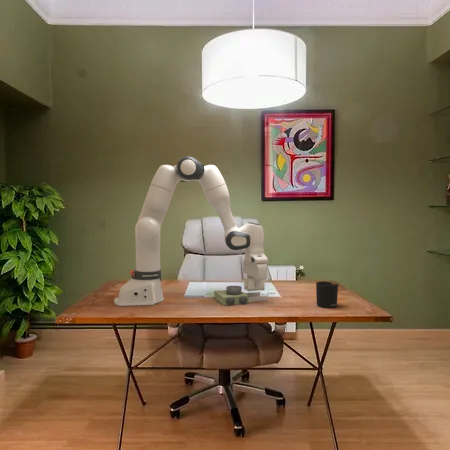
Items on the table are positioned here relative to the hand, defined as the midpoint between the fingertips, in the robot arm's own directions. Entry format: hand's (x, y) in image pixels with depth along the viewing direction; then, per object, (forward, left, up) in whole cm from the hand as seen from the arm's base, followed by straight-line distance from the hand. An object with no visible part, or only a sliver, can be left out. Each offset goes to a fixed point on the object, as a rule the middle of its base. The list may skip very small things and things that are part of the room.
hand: (254, 286), depth 193 cm
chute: (0, 0, -2) cm, 2 cm away
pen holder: (+25, -22, -6) cm, 34 cm away
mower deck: (-6, -1, -6) cm, 9 cm away
